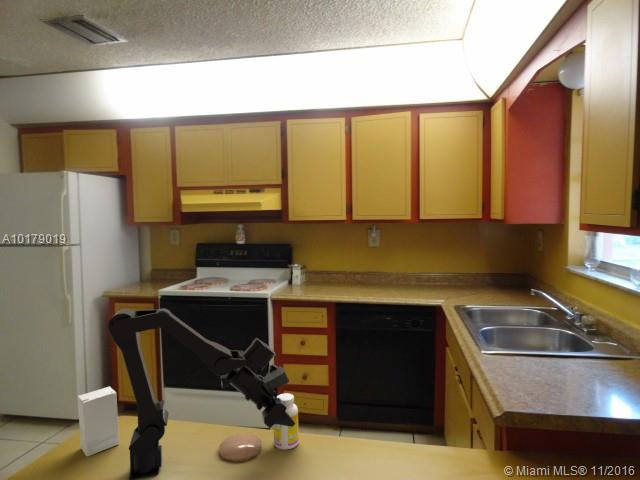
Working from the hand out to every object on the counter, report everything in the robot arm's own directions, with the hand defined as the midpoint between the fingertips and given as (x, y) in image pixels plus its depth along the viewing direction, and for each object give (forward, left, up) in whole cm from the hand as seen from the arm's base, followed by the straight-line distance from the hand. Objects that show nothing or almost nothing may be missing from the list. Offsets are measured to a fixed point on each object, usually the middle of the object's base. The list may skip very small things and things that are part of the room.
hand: (290, 418), depth 107 cm
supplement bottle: (-1, 0, -7) cm, 7 cm away
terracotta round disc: (-13, +1, -7) cm, 15 cm away
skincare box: (-49, +15, -7) cm, 52 cm away
